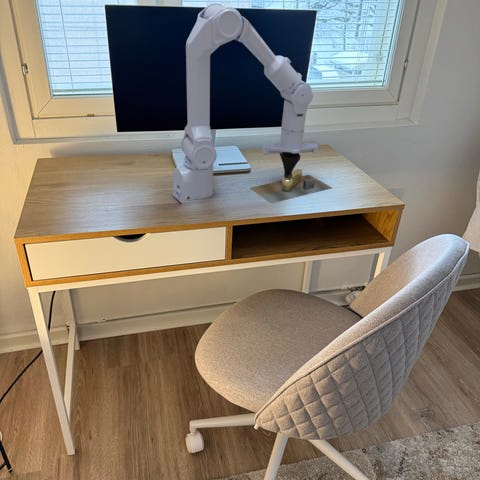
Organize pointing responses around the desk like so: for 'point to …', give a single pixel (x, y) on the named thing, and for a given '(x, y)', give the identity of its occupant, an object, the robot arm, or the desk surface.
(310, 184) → the block
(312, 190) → the board
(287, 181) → the lock bar
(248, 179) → the desk surface
